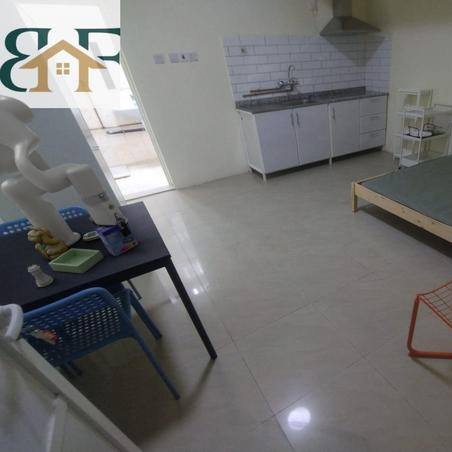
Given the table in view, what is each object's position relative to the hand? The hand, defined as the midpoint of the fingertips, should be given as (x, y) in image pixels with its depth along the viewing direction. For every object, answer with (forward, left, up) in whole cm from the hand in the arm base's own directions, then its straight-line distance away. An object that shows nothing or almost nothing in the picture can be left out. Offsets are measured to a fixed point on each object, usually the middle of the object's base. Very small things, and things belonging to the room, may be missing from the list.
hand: (117, 234), depth 114 cm
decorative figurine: (-27, -7, -7) cm, 28 cm away
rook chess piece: (-14, -22, -7) cm, 27 cm away
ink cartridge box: (-1, 0, -7) cm, 7 cm away
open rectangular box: (-12, -11, -7) cm, 18 cm away
